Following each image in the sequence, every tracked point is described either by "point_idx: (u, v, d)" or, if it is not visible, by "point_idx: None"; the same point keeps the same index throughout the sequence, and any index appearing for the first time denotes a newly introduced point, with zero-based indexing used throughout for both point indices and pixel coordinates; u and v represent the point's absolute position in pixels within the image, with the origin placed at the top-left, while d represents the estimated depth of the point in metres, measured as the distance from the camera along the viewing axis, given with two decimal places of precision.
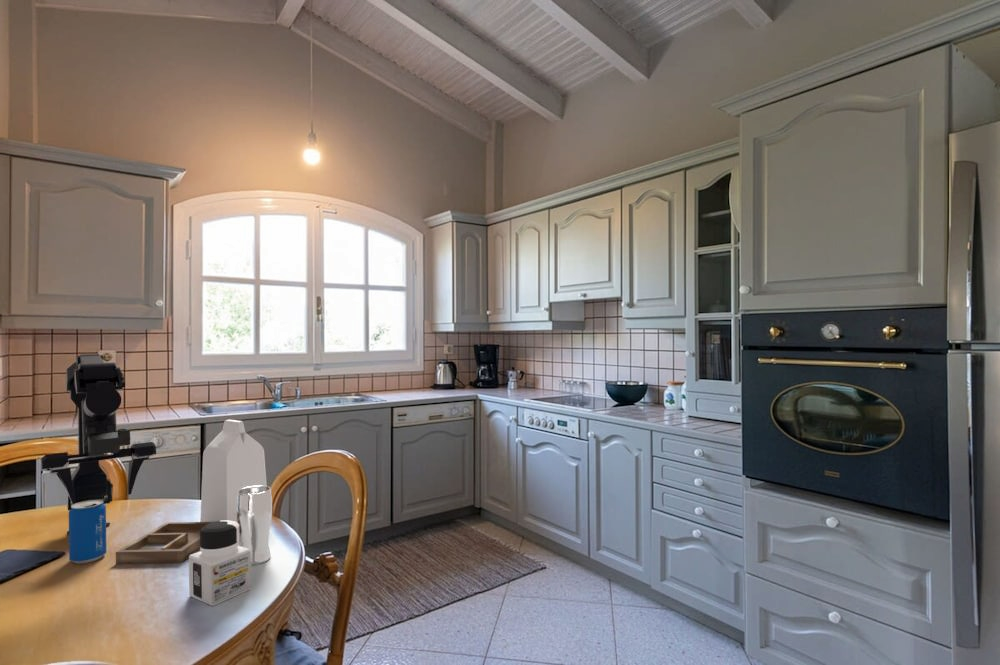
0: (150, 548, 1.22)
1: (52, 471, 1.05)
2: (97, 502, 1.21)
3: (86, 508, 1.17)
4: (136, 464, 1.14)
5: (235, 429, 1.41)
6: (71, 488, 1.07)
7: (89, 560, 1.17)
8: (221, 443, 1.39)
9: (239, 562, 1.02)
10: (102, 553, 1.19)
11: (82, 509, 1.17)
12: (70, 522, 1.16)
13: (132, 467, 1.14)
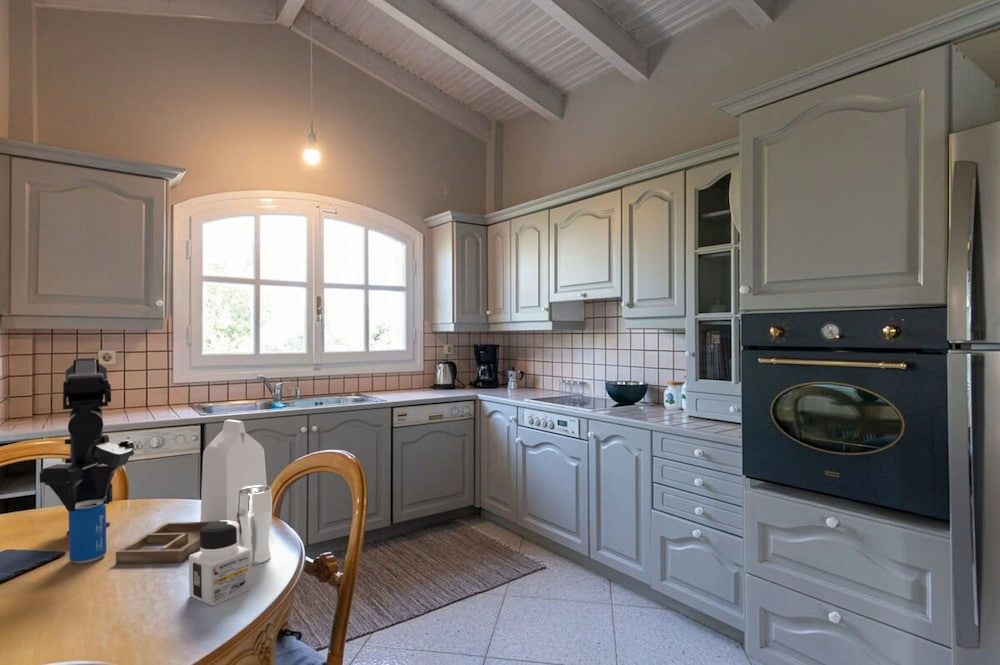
0: (150, 548, 1.22)
1: (71, 483, 1.11)
2: (98, 502, 1.21)
3: (86, 508, 1.17)
4: (114, 470, 1.25)
5: (235, 429, 1.41)
6: (75, 497, 1.14)
7: (89, 560, 1.17)
8: (221, 443, 1.39)
9: (239, 562, 1.02)
10: (102, 553, 1.19)
11: (82, 509, 1.17)
12: (70, 522, 1.16)
13: (110, 473, 1.24)
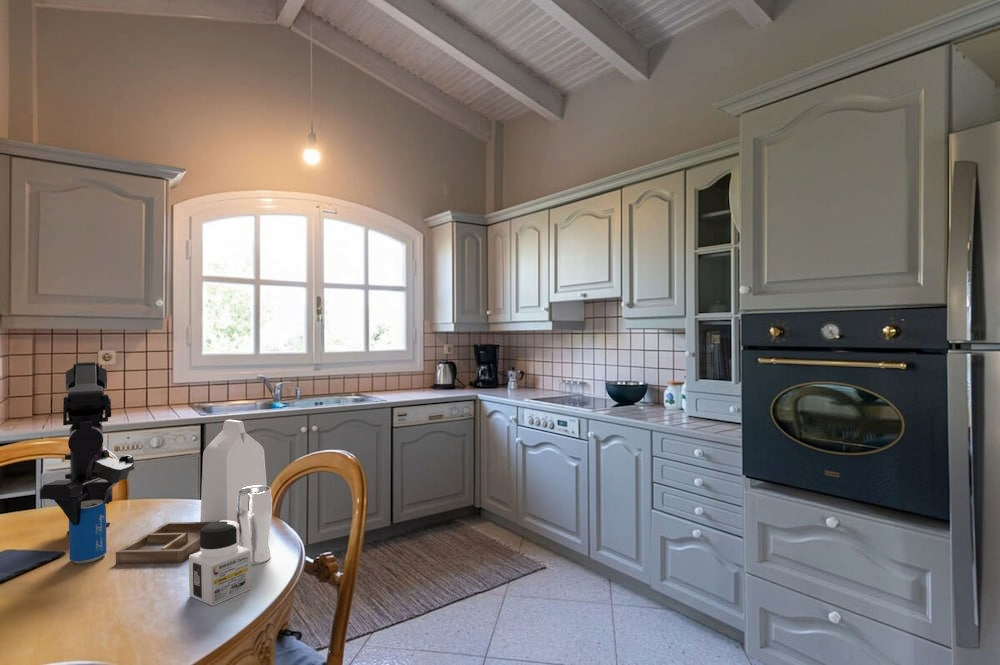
0: (150, 548, 1.22)
1: (76, 497, 1.13)
2: (98, 502, 1.21)
3: (86, 508, 1.17)
4: (111, 486, 1.24)
5: (235, 429, 1.41)
6: (79, 511, 1.15)
7: (89, 560, 1.17)
8: (221, 443, 1.39)
9: (239, 562, 1.02)
10: (102, 553, 1.19)
11: (82, 509, 1.17)
12: (70, 522, 1.16)
13: (107, 489, 1.23)
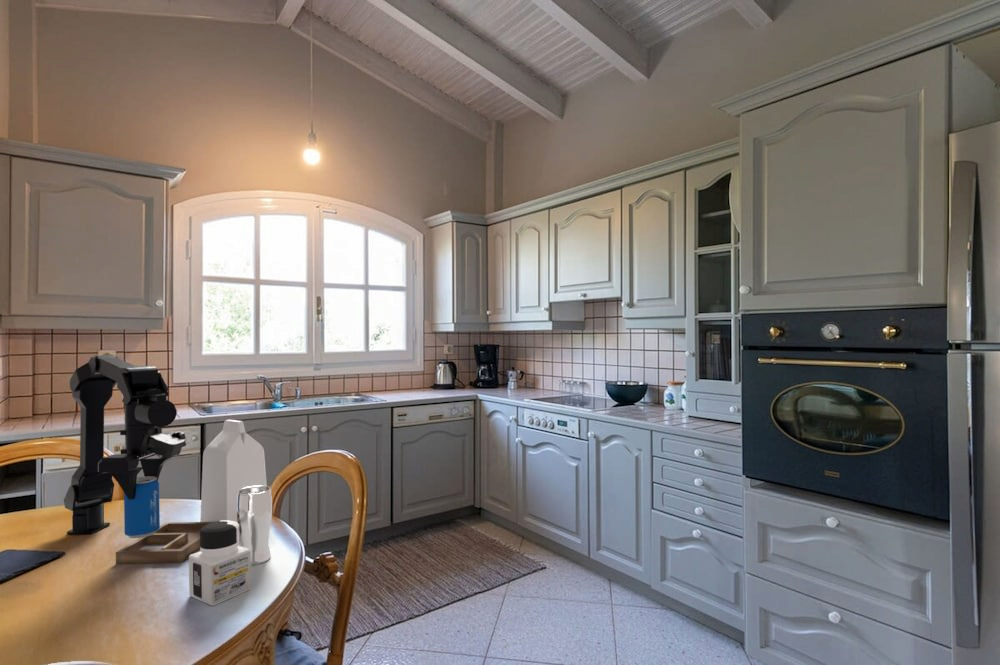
0: (150, 548, 1.22)
1: (133, 471, 1.14)
2: (151, 478, 1.22)
3: (141, 483, 1.18)
4: (163, 463, 1.25)
5: (235, 429, 1.41)
6: (135, 485, 1.17)
7: (144, 535, 1.18)
8: (221, 443, 1.39)
9: (239, 562, 1.02)
10: (156, 528, 1.20)
11: (137, 484, 1.18)
12: (126, 497, 1.18)
13: (159, 466, 1.25)
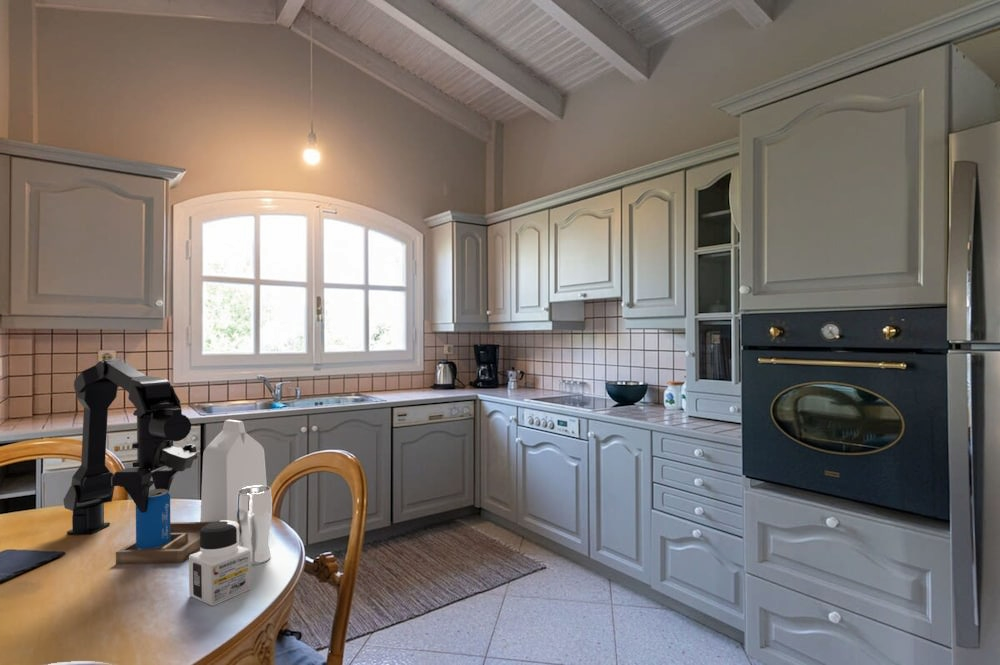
0: None
1: (146, 485, 1.15)
2: (162, 491, 1.23)
3: (153, 497, 1.19)
4: (174, 475, 1.26)
5: (235, 429, 1.41)
6: (147, 498, 1.18)
7: (156, 548, 1.19)
8: (221, 443, 1.39)
9: (239, 562, 1.02)
10: (167, 541, 1.21)
11: (149, 498, 1.19)
12: (137, 510, 1.19)
13: (170, 478, 1.25)
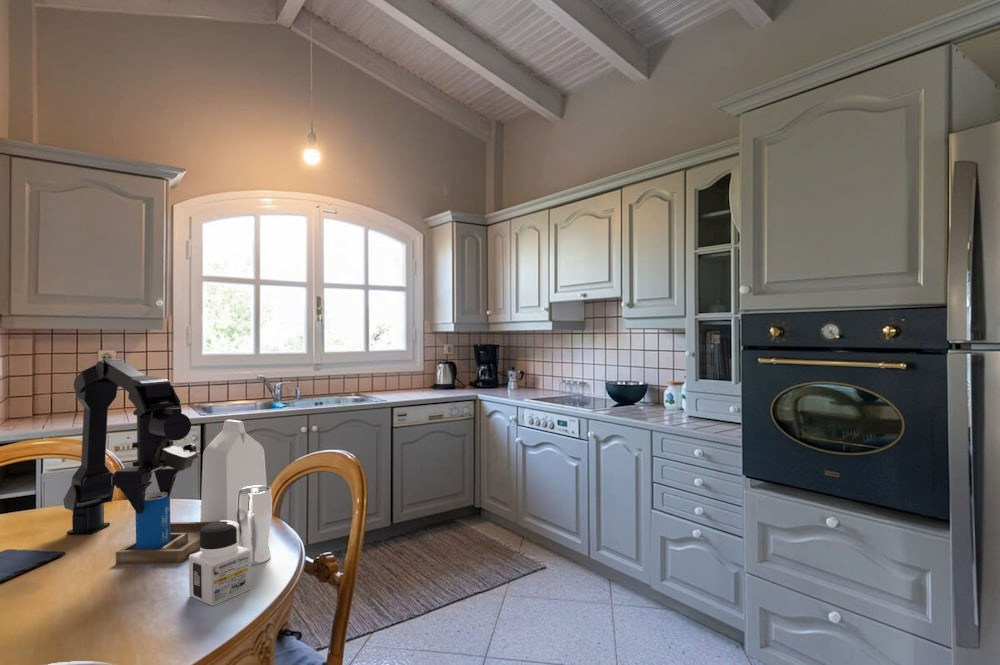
0: None
1: (142, 486, 1.14)
2: (162, 494, 1.23)
3: (153, 500, 1.19)
4: (177, 473, 1.27)
5: (235, 429, 1.41)
6: (143, 499, 1.16)
7: None
8: (221, 443, 1.39)
9: (239, 562, 1.02)
10: None
11: (149, 501, 1.19)
12: None
13: (173, 476, 1.26)
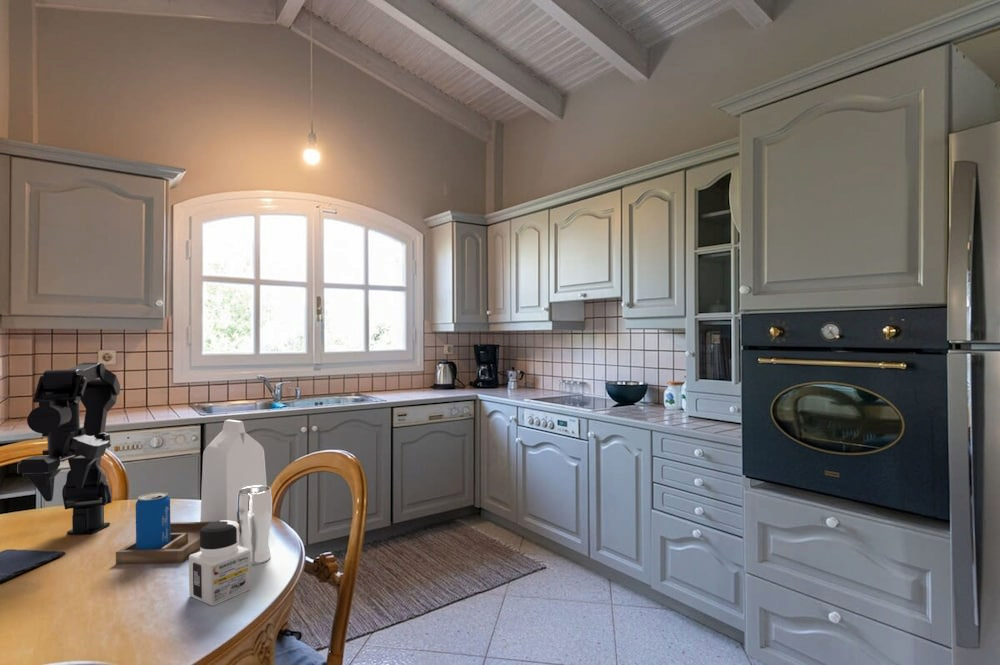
0: None
1: (49, 474, 1.15)
2: (162, 494, 1.23)
3: (153, 500, 1.19)
4: (91, 462, 1.29)
5: (235, 429, 1.41)
6: (52, 487, 1.18)
7: None
8: (221, 443, 1.39)
9: (239, 562, 1.02)
10: None
11: (149, 501, 1.19)
12: (137, 513, 1.19)
13: (87, 465, 1.28)
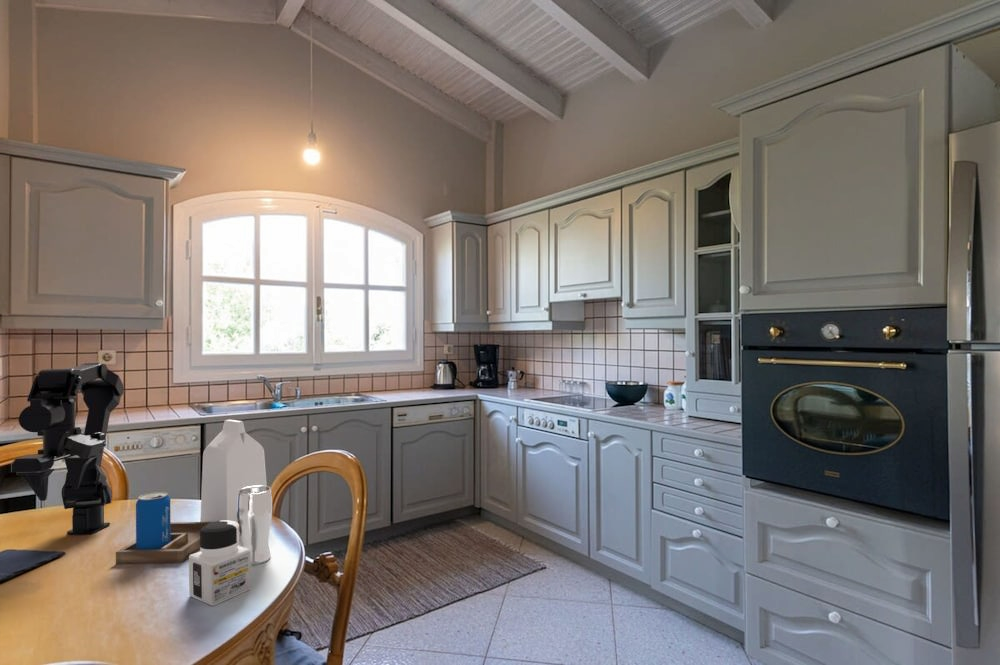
0: None
1: (42, 473, 1.15)
2: (162, 494, 1.23)
3: (153, 499, 1.19)
4: (87, 462, 1.29)
5: (235, 428, 1.41)
6: (46, 487, 1.18)
7: None
8: (221, 443, 1.39)
9: (239, 562, 1.02)
10: None
11: (150, 500, 1.19)
12: (138, 513, 1.19)
13: (83, 464, 1.28)
